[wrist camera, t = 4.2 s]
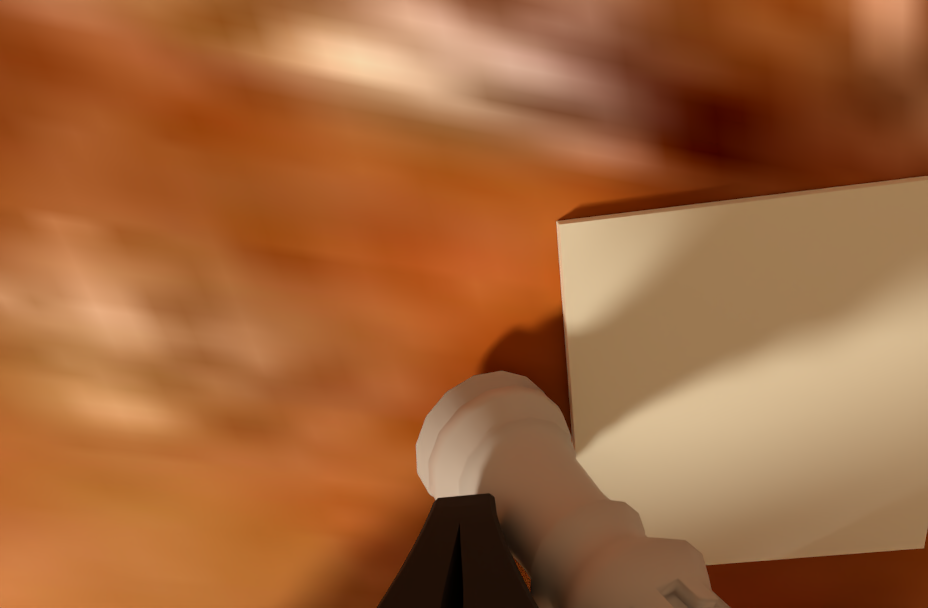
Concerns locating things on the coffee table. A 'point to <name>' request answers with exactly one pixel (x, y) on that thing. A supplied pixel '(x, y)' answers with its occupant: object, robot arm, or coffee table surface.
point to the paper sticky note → (756, 368)
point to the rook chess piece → (552, 502)
